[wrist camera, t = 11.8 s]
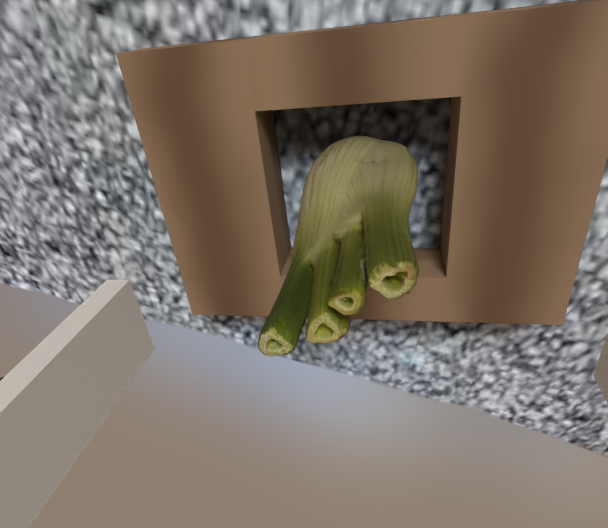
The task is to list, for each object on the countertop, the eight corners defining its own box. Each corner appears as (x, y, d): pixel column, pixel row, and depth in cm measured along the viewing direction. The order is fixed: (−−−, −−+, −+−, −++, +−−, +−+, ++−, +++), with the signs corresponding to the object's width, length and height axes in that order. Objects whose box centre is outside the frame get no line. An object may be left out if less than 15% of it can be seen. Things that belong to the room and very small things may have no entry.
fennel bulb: (315, 224, 24) (259, 381, 14) (295, 138, 22) (211, 252, 12) (421, 210, 23) (442, 375, 12) (411, 116, 20) (429, 225, 10)
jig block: (610, -3, 17) (650, -4, 14) (544, 290, 24) (562, 325, 21) (149, 47, 21) (116, 53, 18) (210, 286, 28) (192, 314, 25)
